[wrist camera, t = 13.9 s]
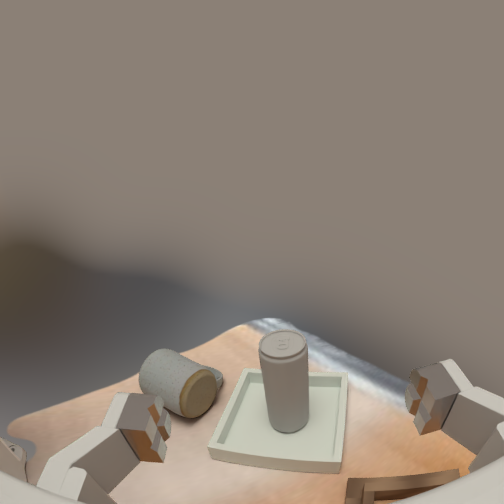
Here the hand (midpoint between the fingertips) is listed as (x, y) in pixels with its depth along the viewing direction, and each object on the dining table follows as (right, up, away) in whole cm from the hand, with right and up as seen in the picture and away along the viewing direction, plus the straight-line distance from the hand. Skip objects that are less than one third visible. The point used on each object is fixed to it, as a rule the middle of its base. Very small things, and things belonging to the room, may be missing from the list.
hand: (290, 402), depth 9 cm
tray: (+3, -16, +25) cm, 29 cm away
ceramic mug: (-10, -16, +31) cm, 36 cm away
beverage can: (+3, -15, +24) cm, 29 cm away
